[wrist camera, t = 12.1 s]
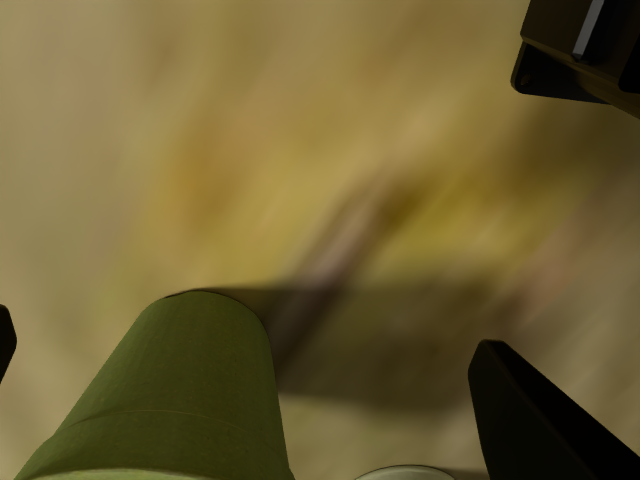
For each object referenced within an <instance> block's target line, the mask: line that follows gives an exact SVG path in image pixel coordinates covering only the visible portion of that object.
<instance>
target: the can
mask: <svg viewBox="0 0 640 480" xmlns="http://www.w3.org/2000/svg"><path fill="white" fill-rule="evenodd" d="M356 480H455V479H454V478H453V477H451V476H450V475H448V474H446V473H444V472H442V471H440V470H437V469H433V468H429V467H424V466H413V465H404V466H394V467H387V468H383V469H379V470H376V471H373V472H370V473H367V474H365V475H363V476H361V477H359V478H357V479H356Z"/></svg>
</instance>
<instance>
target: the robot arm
mask: <svg viewBox="0 0 640 480" xmlns="http://www.w3.org/2000/svg"><path fill="white" fill-rule="evenodd" d="M520 35H521V37H522V39H523V42H522V45H521V48H520V51H519V54H518V57H517V60H516V63H515V66H514V69H513V72H512V75H511V81H510V82H511V86H512V87H513V88H514V89H515V90H516V91H517V92H519V93H522V94H528V95H537V96H545V97H553V98H561V99H569V100H577V101H585V102H593V103H601V104H609V105H613V106H615V107H617V108H619V109H621V110H623V111H625V112H627V113H629V114H630V115H632V116H634V117H636V118H638V119H640V0H531V1H530V4H529V7H528V10H527V13H526V16H525V19H524V22H523V25H522V28H521V31H520ZM526 74H530V79H529V81H528V82H527V83H526V84H524V85H521V79H522V77H523V76H524V75H526ZM16 345H17V337H16V333H15V330H14V326H13V323H12V319H11V316H10V313H9V310H8V308H7V307H6V306H4V305H1V304H0V384H1V381H2V379H3V377H4V375H5V372H6V370H7V368H8V365H9V363H10V361H11V359H12V356H13V354H14V352H15V349H16ZM468 381H469V386H470V391H471V397H472V402H473V407H474V413H475V418H476V423H477V429H478V434H479V439H480V444H481V449H482V453H483V456H484V460H485V464H486V467H487V470H488V474H489V477H490V480H640V457H639V456H638V455H637V454H636V453H635V452H633V451H632V450H631V449H630V448H629V447H627V446H626V445H625V444H624V443H623V442H622V441H620V440H619V439H618V438H617V437H616V436H615V435H613V434H612V433H611V432H610V431H609V430H607V429H606V428H605V427H604V426H603V425H602V424H600V423H599V422H598V421H597V420H596V419H595V418H593V417H592V416H591V415H590V414H589V413H587V412H586V411H585V410H584V409H583V408H582V407H580V406H579V405H578V404H577V403H576V402H575V401H573V400H572V399H571V398H570V397H569V396H567V395H566V394H565V393H564V392H563V391H562V390H560V389H559V388H558V387H557V386H556V385H555V384H553V383H552V382H551V381H550V380H549V379H547V378H546V377H545V376H544V375H543V374H542V373H540V372H539V371H538V370H537V369H536V368H535V367H533V366H532V365H531V364H530V363H529V362H527V361H526V360H525V359H524V358H523V357H522V356H520V355H519V354H518V353H517V352H516V351H515V350H513V349H512V348H511V347H510V346H509V345H507V344H506V343H505V342H503V341H501V340H492V339H483V340H481V341H480V342H479V344H478V346H477V349H476V351H475V354H474V356H473V358H472V361H471V363H470V366H469V369H468Z"/></svg>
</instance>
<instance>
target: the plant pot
mask: <svg viewBox="0 0 640 480" xmlns="http://www.w3.org/2000/svg"><path fill="white" fill-rule="evenodd" d="M14 480H295V478H294V476H293V473H292V472H291V470H290V468H289V463H288V457H287V451H286V445H285V438H284V432H283V425H282V419H281V412H280V406H279V400H278V393H277V387H276V380H275V373H274V366H273V360H272V353H271V347H270V342H269V338H268V335H267V333H266V331H265V329H264V327H263V325H262V323H261V322H260V320H259V318H258V317H257V316H256V315H255V314H254V313H253V312H252V311H251V310H250V309H248V308H247V307H245V306H244V305H243V304H241V303H239V302H237V301H235V300H233V299H231V298H229V297H226V296H222V295H219V294H215V293H209V292H200V291H195V292H186V293H184V294H180V295H177V296H173V297H169V298H164V299H159V300H157V301H155V302H154V303H152V304H151V305H149V306H148V307H147V308H146V309H145V310H144V311H143V312H142V313H141V314H140V315H139V317H138V318H137V319H136V321H135V322H134V324H133V325H132V326H131V328H130V329H129V331H128V332H127V333H126V335H125V336H124V337H123V339H122V340H121V341H120V343H119V344H118V346H117V347H116V348H115V350H114V351H113V353H112V354H111V355H110V357H109V358H108V360H107V361H106V362H105V364H104V365H103V367H102V368H101V369H100V371H99V372H98V374H97V375H96V376H95V378H94V379H93V381H92V382H91V383H90V385H89V386H88V388H87V389H86V390H85V392H84V393H83V395H82V396H81V397H80V399H79V400H78V402H77V403H76V404H75V406H74V407H73V409H72V410H71V411H70V413H69V414H68V415H67V417H66V418H65V420H64V421H63V422H62V424H61V425H60V427H59V428H58V429H57V431H56V432H55V434H54V435H53V436H52V437H50V438H49V439H48V440H47V441H45V442H44V443H43V444H42V445H41V446H40V447H39V448H38V449H37V450H36V451H35V452H34V454H33V455H32V456H31V457H30V459H29V460H28V461H27V463H26V464H25V465H24V467H23V468H22V469H21V471H20V472H19V473H18V475H17V476H16V477H15V478H14Z"/></svg>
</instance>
